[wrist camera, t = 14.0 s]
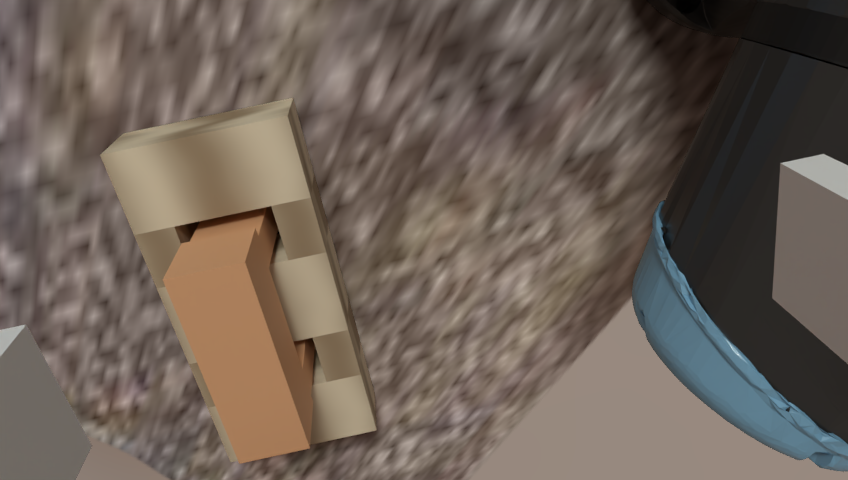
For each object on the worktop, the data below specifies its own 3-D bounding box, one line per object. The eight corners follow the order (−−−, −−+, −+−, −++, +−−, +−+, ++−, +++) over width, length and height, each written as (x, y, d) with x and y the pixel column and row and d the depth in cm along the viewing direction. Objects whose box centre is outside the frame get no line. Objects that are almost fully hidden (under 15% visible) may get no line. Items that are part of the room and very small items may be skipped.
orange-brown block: (203, 201, 40) (162, 279, 31) (267, 187, 40) (245, 262, 31) (260, 357, 46) (239, 463, 37) (317, 345, 46) (309, 448, 37)
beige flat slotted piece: (293, 97, 38) (287, 115, 35) (374, 392, 48) (376, 430, 44) (123, 133, 38) (100, 154, 34) (239, 421, 48) (230, 462, 44)
